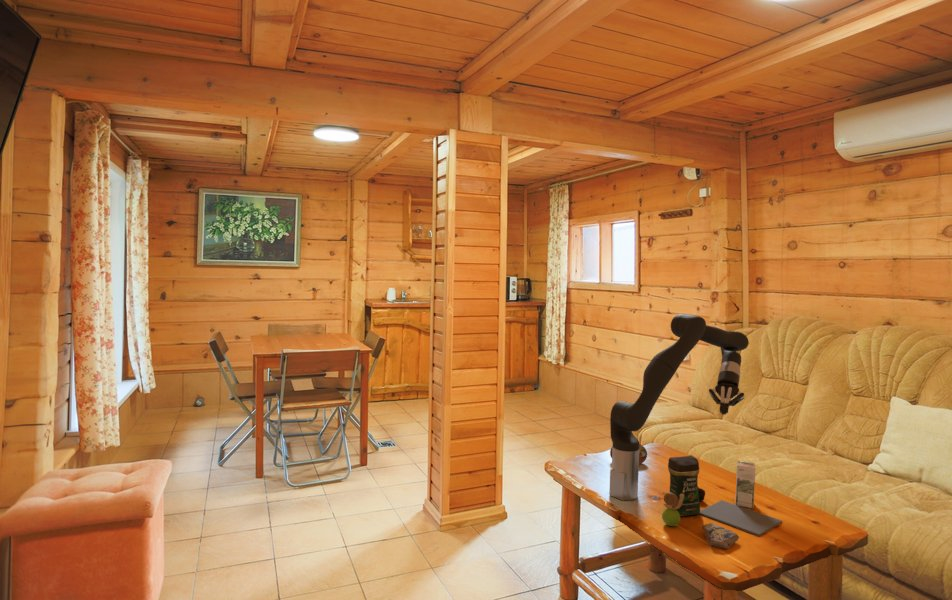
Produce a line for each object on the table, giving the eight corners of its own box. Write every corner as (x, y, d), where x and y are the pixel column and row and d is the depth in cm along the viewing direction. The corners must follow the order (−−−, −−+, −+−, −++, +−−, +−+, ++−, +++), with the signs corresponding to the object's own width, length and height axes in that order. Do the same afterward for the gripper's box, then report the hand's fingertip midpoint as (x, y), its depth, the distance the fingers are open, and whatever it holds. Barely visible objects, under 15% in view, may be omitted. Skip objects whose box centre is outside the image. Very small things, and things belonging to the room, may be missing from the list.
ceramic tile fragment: (694, 521, 174) (725, 520, 174) (694, 531, 174) (725, 531, 175) (713, 540, 162) (747, 540, 163) (712, 551, 162) (746, 551, 163)
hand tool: (705, 502, 196) (706, 487, 196) (691, 502, 196) (692, 486, 196) (682, 479, 219) (682, 464, 219) (669, 478, 219) (670, 464, 219)
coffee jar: (677, 518, 182) (675, 462, 181) (665, 508, 190) (663, 454, 189) (704, 515, 184) (703, 459, 183) (691, 505, 192) (690, 451, 191)
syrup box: (753, 503, 196) (755, 462, 195) (753, 509, 191) (755, 467, 190) (735, 500, 199) (737, 459, 198) (735, 506, 193) (737, 464, 192)
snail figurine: (681, 531, 173) (682, 493, 173) (659, 526, 177) (661, 488, 176) (684, 525, 178) (686, 487, 177) (664, 520, 181) (665, 483, 181)
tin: (610, 464, 234) (611, 444, 233) (609, 461, 237) (609, 441, 236) (647, 464, 234) (647, 444, 233) (644, 462, 237) (645, 442, 236)
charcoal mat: (759, 536, 171) (759, 534, 171) (697, 513, 187) (697, 511, 187) (781, 522, 181) (782, 520, 181) (721, 501, 197) (721, 500, 197)
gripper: (710, 368, 220) (703, 405, 210) (747, 371, 213) (742, 410, 203) (711, 379, 225) (705, 416, 215) (748, 383, 218) (743, 421, 208)
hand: (723, 413), depth 209 cm, fingers closed
